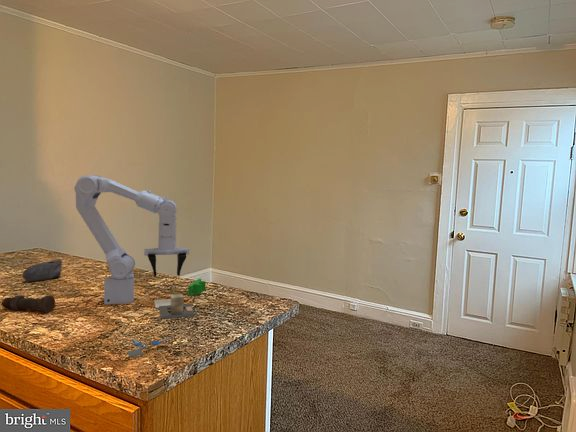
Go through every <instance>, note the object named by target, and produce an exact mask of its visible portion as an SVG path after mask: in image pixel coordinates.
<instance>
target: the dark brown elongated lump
mask: <svg viewBox="0 0 576 432" xmlns="http://www.w3.org/2000/svg"><path fill="white" fill-rule="evenodd" d="M1 306H2V308H5V309H11V310H12V311H14V312H19V311H21V310H39V311H41V313H42V314H45V315H46V314H49V313H52V312H53V310H54V309H55V307H56V299H55V297H54V296H53V295H51V294H48V295H45V296H42V297H41V298H25V296H23V295H21V294H19V295H15V296H14V297H5V298H4V299H2V301H1Z"/></svg>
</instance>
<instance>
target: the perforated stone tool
mask: <svg viewBox="0 0 576 432" xmlns="http://www.w3.org/2000/svg"><path fill="white" fill-rule="evenodd" d="M62 265H63V263H62V261H61V259H59V260H51V261H45V262H40V263H37V264H34V265H31V266H29V267H27V268H26V269H25V270H24V271H23V272H22V279H24V281H28V282H37V281H38V282H39V281H40V282H41V281H47V280H52V279H54V278H55V279H56V278H59V277H60V276H61V274H62V273H61V272H62Z"/></svg>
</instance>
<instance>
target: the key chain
mask: <svg viewBox="0 0 576 432" xmlns="http://www.w3.org/2000/svg"><path fill="white" fill-rule="evenodd" d="M170 339H172V337H171V336H169V337H165V338H163V339H161V340H152V341H151V345H147V344H143V343H142V342H139V341H138V340H137V339H136V338H132V339H131V341H132V342H133V345H134V347H135V346H136V347H139V348H137V349H134V350H129V351H126V353H127V354H128V356H129V357H136V356H142V355H144V353H143V350H144V349H147V348H149V347H152V346H159V345H160V344H161V343H162V342H165V341H167V340H170Z"/></svg>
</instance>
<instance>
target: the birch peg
mask: <svg viewBox="0 0 576 432" xmlns="http://www.w3.org/2000/svg"><path fill="white" fill-rule="evenodd" d="M170 299H171V310H169V311H170V313H180V312H184V309H183V304H184V294H182V293H178V294H177V293H176V294H170Z"/></svg>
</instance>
